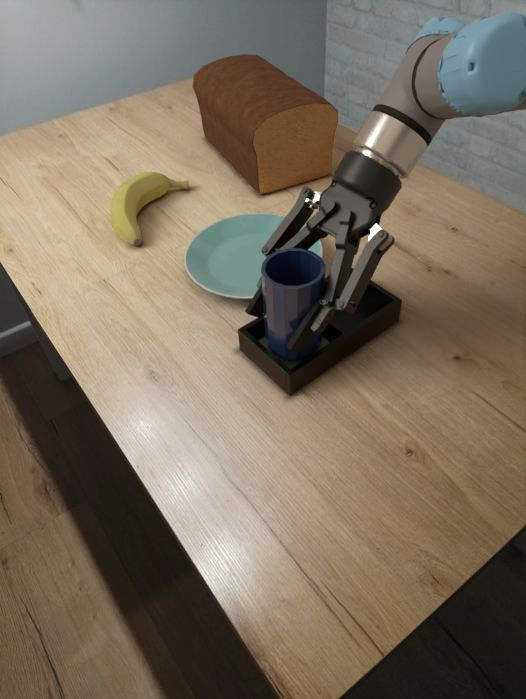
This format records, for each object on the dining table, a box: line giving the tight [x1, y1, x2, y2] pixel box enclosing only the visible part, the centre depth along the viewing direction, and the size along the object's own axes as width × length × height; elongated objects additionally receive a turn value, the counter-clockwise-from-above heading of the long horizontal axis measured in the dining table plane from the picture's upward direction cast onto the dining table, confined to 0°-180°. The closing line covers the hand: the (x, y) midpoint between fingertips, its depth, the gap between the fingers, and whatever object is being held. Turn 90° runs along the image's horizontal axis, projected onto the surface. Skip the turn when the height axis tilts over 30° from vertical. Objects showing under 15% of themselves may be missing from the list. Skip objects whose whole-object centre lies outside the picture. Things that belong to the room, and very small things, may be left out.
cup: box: [261, 248, 326, 360], centre depth 64 cm, size 7×7×12 cm
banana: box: [110, 171, 190, 247], centre depth 95 cm, size 14×6×20 cm
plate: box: [183, 212, 324, 300], centre depth 83 cm, size 22×22×3 cm
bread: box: [192, 53, 339, 195], centre depth 103 cm, size 18×30×16 cm, turn 26°
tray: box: [237, 266, 404, 397], centre depth 71 cm, size 11×20×4 cm, turn 129°
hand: (273, 331), depth 64 cm, fingers closed on cup, 7 cm apart
